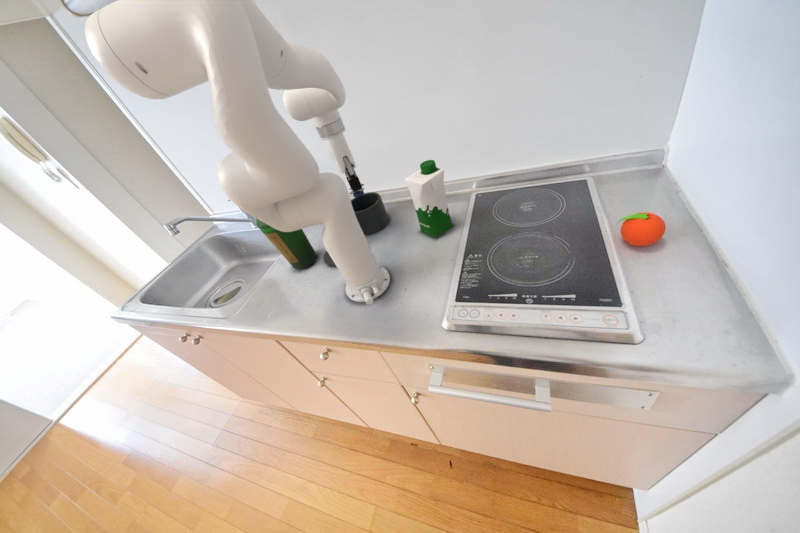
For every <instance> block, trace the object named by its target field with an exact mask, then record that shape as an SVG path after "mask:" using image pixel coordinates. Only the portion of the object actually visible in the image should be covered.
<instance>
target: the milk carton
mask: <svg viewBox="0 0 800 533" xmlns="http://www.w3.org/2000/svg"><path fill="white" fill-rule="evenodd" d="M419 167H420V168H419V169H418V170H416V171H414V172H412V173H411V174H410V175H409V176H407V177H406V178H404V181H405V184H406V186H407V189H408V192H409V193H410V194H409V195H410V196H411V199H412V203H413V206H414V209H415V213H416V217H417V220H418V224H419V228H420V232H422V233H424V234H426V235H427V236H430V237H432V238H434V239H438V238H440V236H442V235H443V234H444V233H445V232H446V231H448V230H449V229H450V228H452V227H453V220H452V217H451V214H450V210H449V205H448V200H447V195H446V189H445V184H444V183H445V169H441V168H439V167H437V164H436V162H435V160H434V159H427V160H425V161H423V162H421V163H420V164H419Z"/></svg>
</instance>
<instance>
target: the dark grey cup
mask: <svg viewBox="0 0 800 533" xmlns="http://www.w3.org/2000/svg"><path fill="white" fill-rule="evenodd" d="M350 200H351V203H352V207H353V210H354V213H355V215H356V218H357V220H358V222H359V225H360V227H361V229H362V231H363V233H364V235H365V236H370V235H374V234H376V233H378V232H380V231H382V230H383V229H384V228H385V227H386V226H387V225H388V223H389V222H390V221H389V220H390V219H389V215H388V212H387V209H386V206H385V205H384V201H383V199H382V196H381V195H380V193H378V192H374V191H373V192H371V191H370V192H366V193H365V192H364V194H363V195H362V196H360V197H354V198H352V199H350Z"/></svg>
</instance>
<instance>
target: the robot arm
mask: <svg viewBox="0 0 800 533" xmlns="http://www.w3.org/2000/svg"><path fill="white" fill-rule="evenodd" d="M84 36H85V40H86V44H87V47H88V49H89V51H90V52H91V55H92V57H93V58H94V59H95V61H96V62H97V64H98V65H99V66H100V67H101V69H102V70H103V71H104V72H105V73H106V74H107V75H108V76H109V77H110V78H111V79H113V80H114V81H115V82H116V83H117V84H119V85H120V87H122V88H124V89H126V90H128V91H129V92H131V93H132V94H135V95H137V96H139V97H143V98H146V99H149V100H166V99H169V98H172V97H174V96H177V95H179V94H181V93H183V92H186V91H189V90H191V89H194V88H196V87H198V86H201V85H203V84H205V83H207V82H208V85H209V90H210V97H211V109H212V110H211V112H212V119H213V123H214V126H215V130H216V132H217V135H218V137H219V138H220V140H221V141H222V143H223V144H224V145H225V146H226V147H227V148H228V149H229V150H231V152H230V153H228V154H227V155H225V156H224V157H222V159H220V161H219V163H218V165H217V169H216V176H217V180H218V183H219V185H220V187H221V189H222V192H224V194H225V195H226V197H227V198H228V199H229V200H230V201H231V202H232V203H233V204H234V205H235V206H236V207H238V208H239V209H241V210H242V211H243V212H245V213H246V214H248V215H250V216H252V217H254V218H255V219H256V218H257V219H259V220H260V221H262V222H264V223H266V224H267V225H269V226H271V227H273V228H274V229H276V230H279V231H282V232H292V231H296V230H300V229H302V230H303V229H307V228H310V227H313V226H318V225H323V229H322V232H321V243H322V245H323V247H324V249H325V250H326V251H327V252H328V253H329V255H330V257H331V258H332V260H333V262H334V263H335V265H336V266H335V267H336V268H337V270H338V271H339V273H340V275H341V277H342V278H343V280H344V281H345V283H346V284H345V287H344V288H345V294H346V295H347V297H348V298H349V299H350V300H351V301H353V302H356V303H365V304H366V305H367V306H370V305H373V304H374V302H375V301H374V300H375V299H376V298H379V296H381V295H382V294H383V293H385V291H386V290H387V288H388V287H389V285H390V282H391V276H390V273H389V271H388V270H387V268H385V266H381V265H379V263H378V261H377V258H376V256H375V254H374V251H373V250H372V248H371V246H370V244H369V242H368V240H367V237H366V235H364V233H363V231H362V229H361V227H360V225H359V222H358V220H357V218H356V215H355V213H354V210H353V207H352V203H351V200H352V199H351V196H350V194H349V193H350V192H349V189H348V187H347V185H346V182H345V181H344V179H343V178H342V177H341V176H340V175H338V174H336V173H333V172H320V167H319V164H318V162H317V160H316V158H315V157H314V156H313V154H312V152H310V150H309V149H308V147H307V146H306V145H305V143H303V141H302V140H301V139H300V137H299V136H298V135H297V134H296V132H295V131H294V130H293V129H292V128H291V127H290V125H289V124H288V122H287V121H286V120H285V119H284V118H283V117H282V115H281V113H280V112H279V111H278V109H277V107H276V106H275V104H274V102H273V100H272V97H271V94H270V90H269V89H271V90H279V91H280V90H281V91H283V94H282V103H283V106H284V109H285V111H286V113H287V114H288V116H290V117H291V118H292V119H293V120H295V121H298V122H305V121H309V120H311V122H312V123H313V126H314V128H315V130H316V132H317V134H318V136H319V139H320V140H321V141H325V143H326V146H327V148H328V150H329V153H330V155H331V157H332V160H333V161H334V164H335V166H336V167H337V170H338V171H339V172H340V173H341V174H345V178H346V180H347V183H348V185H349V187H350V188H352V190H351V191H357V190H359V189H361V188H363V186H362V185H361V184H362V183H361V181H360V179H359V176H358V175H357V173H356V167H357V166H356V162H355V159H354V157H353V155H352V152H351V149H350V147H349V145H348V142H347V140H346V137H345V135H344V132H346V127H345V124H344V122H343V119H342V117H341V115H340V112H339V109H340V108H342V107H343V106H344V105H345V103H346V91H345V88H344V85H343V82H342V80H341V78H340V77H339V74H338V73H337V71H336V70H335V68H334V67H333V65H332V64H331V62H330V61H329V60H328V59H327V57H325V55H323V54H322V53H320V52H319V51H317V50H316V49H313V48H310V47H307V46H305V45H302V44H298V43H296V42H291V41H287V40H285V39H284V37H283V36H282V35H281V33H280V32H279V31H278V30H277V28H276V27H275V26H274V25H273V24H272V23H271V21H270V20H269V19H268V17H266V15H265V13H263V11H262V10H261V9H260V8H259V7H258V5H257V4H256V3H255V1H254V0H115V1H113V2H111V3H110V4H107V5H104V6H103V7H101V8H99V9H98V10H96V11H95V12H93V13H91V14H90V15H89V16H88V18H87V19H86V22H85V24H84ZM326 251H325V252H326Z"/></svg>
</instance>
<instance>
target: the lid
mask: <svg viewBox="0 0 800 533" xmlns="http://www.w3.org/2000/svg"><path fill="white" fill-rule="evenodd" d="M323 262H324V263H325V264H326V265H327V266H329V267H337V266H336V265H335V263H334V262H333V260H332V258H331V257H330V255H329V253H328V252H327V251H325V252H324V254H323Z"/></svg>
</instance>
